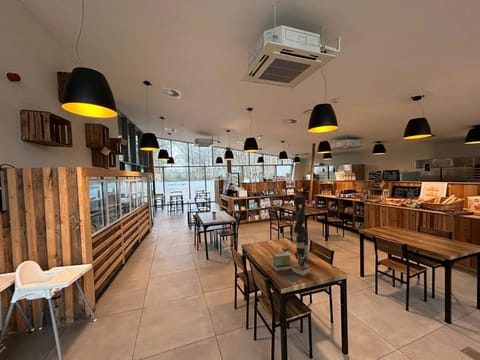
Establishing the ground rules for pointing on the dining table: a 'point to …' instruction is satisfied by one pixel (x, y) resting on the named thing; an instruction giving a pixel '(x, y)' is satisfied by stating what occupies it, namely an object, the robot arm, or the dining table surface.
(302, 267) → the lid
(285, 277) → the mat
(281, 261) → the tea box
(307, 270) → the dish
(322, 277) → the dining table surface
